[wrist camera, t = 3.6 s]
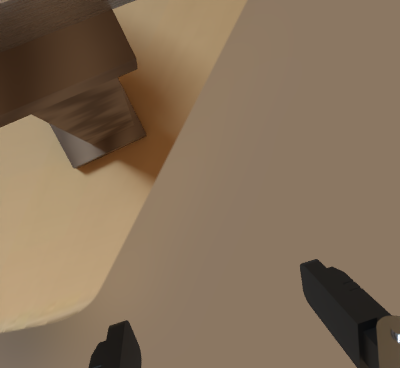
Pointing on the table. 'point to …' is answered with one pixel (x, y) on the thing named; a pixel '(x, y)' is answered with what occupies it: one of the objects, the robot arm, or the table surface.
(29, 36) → the beige long bar
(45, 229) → the table surface
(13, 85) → the walnut stand
